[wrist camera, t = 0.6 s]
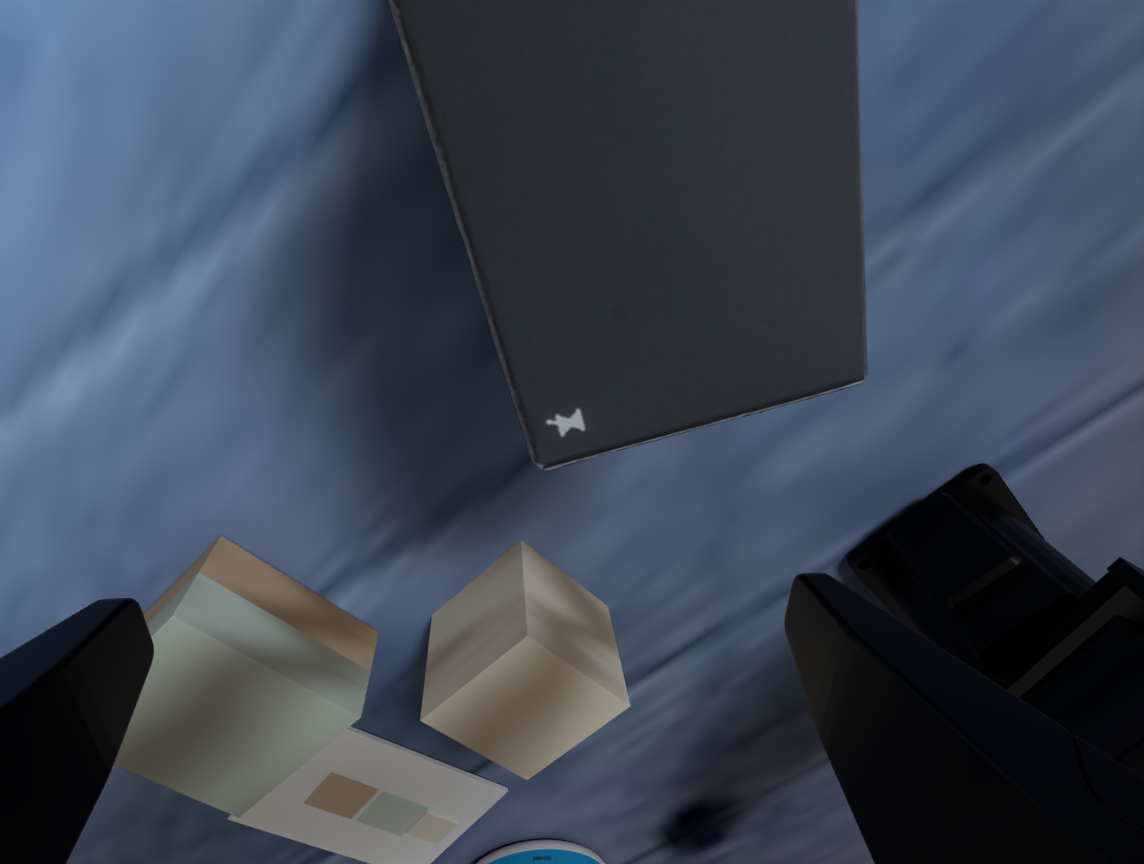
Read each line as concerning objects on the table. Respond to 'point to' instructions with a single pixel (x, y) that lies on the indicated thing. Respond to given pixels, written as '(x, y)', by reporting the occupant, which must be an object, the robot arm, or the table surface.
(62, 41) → the table surface
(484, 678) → the beige cube
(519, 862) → the beverage bottle
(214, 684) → the tower base
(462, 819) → the page
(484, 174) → the small box
